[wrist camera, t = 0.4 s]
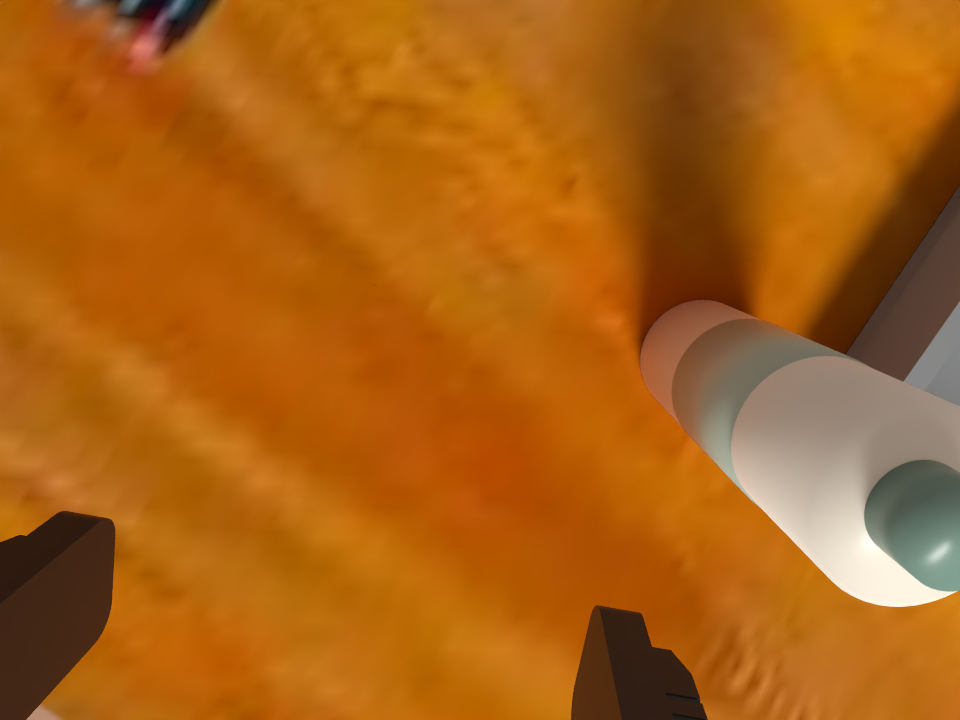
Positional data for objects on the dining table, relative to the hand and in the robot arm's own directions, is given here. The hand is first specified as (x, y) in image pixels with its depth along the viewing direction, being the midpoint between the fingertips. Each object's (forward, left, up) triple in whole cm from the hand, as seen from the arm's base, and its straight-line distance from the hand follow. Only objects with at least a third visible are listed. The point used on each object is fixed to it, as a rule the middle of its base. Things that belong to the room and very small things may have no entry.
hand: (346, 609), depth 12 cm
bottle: (-6, +12, -21) cm, 25 cm away
